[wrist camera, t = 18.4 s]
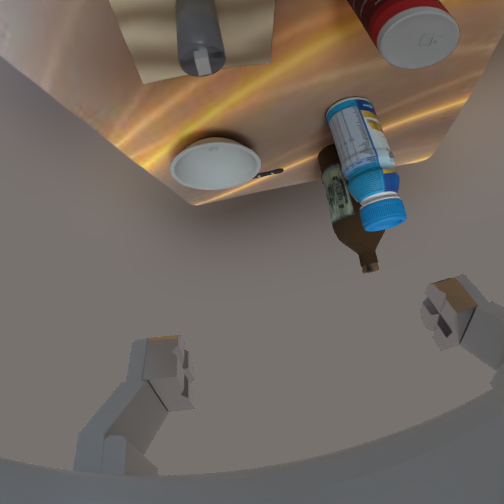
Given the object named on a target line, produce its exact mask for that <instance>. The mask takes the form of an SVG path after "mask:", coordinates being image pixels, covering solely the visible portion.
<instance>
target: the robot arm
mask: <svg viewBox="0 0 504 504" xmlns="http://www.w3.org/2000/svg"><path fill="white" fill-rule="evenodd" d="M425 293H426V295H427V298H426V299H425V300H424V301H423V303H422V307H421V318H422V320H423V323H424V324H425V326H426V328H427V329H429V330H431V331H433V339H434V340H435V342H436V343H437V345H438V347H439V348H440V349H441V351H442V350H445V349H448V348H450V347H453V346H456V345H459V344H460V346H461V347H463V348H464V349H465V350H467V351H468V352H470V353H471V354H473V355H474V356H476V357H477V358H479V359H480V360H481V361H483V362H484V363H486V364H488V365H489V366H490V367H492V368H493V369H494V370H496V373H495V374H494V376H493V377H492V378H491V381H490V384H491V386H492V387H493V389H491V390H489V391H487V392H485V393H483V394H482V395H480V396H478V397H476V398H474V399H472V400H470V401H468V402H466V403H464V404H462V405H460V406H458V407H456V408H454V409H451V410H449V411H447V412H445V413H443V414H440V415H438V416H436V417H433V418H431V419H429V420H427V421H424V422H422V423H420V424H417V425H414V426H412V427H409V428H406V429H404V430H401V431H398V432H396V433H393V434H390V435H387V436H384V437H381V438H378V439H375V440H372V441H369V442H366V443H363V444H360V445H356V446H353V447H349V448H346V449H342V450H338V451H335V452H331V453H327V454H323V455H319V456H315V457H310V458H306V459H301V460H296V461H291V462H287V463H281V464H275V465H270V466H264V467H257V468H250V469H244V470H235V471H225V472H216V473H203V474H186V475H158V468H157V467H156V466H155V465H154V464H153V463H152V462H151V461H149V460H148V459H147V458H146V457H145V456H144V454H145V452H146V450H147V449H148V447H149V445H150V444H151V442H152V440H153V439H154V437H155V435H156V434H157V432H158V430H159V429H160V427H161V425H162V424H163V422H164V420H165V419H166V417H167V415H168V412H171V411H180V410H188V409H194V391H193V388H192V386H191V382H192V381H193V380H194V376H193V366H192V361H191V357H190V354H189V352H188V351H187V350H185V349H184V345H185V342H184V340H183V338H182V336H181V335H173V336H162V337H152V338H145V339H135V340H134V341H133V342H132V345H131V351H130V357H129V363H128V369H127V376H126V382H121V383H120V384H119V386H118V387H117V388H116V389H115V390H114V391H113V393H112V394H111V395H110V396H109V397H108V399H107V400H106V401H105V402H104V403H103V405H102V406H101V407H100V408H99V409H98V410H97V412H96V413H95V414H94V415H93V416H92V418H91V419H90V420H89V421H88V422H87V423H86V425H85V426H84V427H83V428H82V429H81V431H80V432H79V433H78V439H77V444H76V451H75V458H74V465H73V470H66V469H59V468H52V467H46V466H41V465H35V464H30V463H25V462H20V461H16V460H12V459H7V458H3V457H0V504H504V307H503V306H501V305H499V304H497V303H495V302H493V301H491V302H489V301H488V300H487V299H486V298H485V297H484V295H483V294H482V293H481V292H480V291H479V290H478V288H477V287H476V286H475V285H474V284H473V283H472V282H471V280H470V279H469V278H468V277H467V276H466V275H463V274H461V275H458V276H455V277H452V278H448V279H444V280H441V281H437V282H434V283H430V284H429V285H428V286H427V288H426V292H425Z"/></svg>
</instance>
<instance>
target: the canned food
mask: <svg viewBox="0 0 504 504" xmlns="http://www.w3.org/2000/svg"><path fill="white" fill-rule="evenodd" d="M347 1H348V3H349V4H350V6H351V7H352V9H353V10H354V12H355V13H356V15H357V16H358V18H359V20H360V21H361V23H362V24H363V26H364V28H365V29H366V31H367V33H368V34H369V36H370V38H371V39H372V41H373V43H374V44H375V46H376V47H377V49H378V51H379V52H380V54H381V55H382V56H383V58H384V59H385V60H386V61H387V62H388V63H389V64H391V65H393V66H396V67H398V68H404V69H417V68H423V67H427V66H430V65H433V64H435V63H437V62H439V61H441V60H443V59H444V58H446V57H447V56H448V55H449V54H451V53H452V51H453V50H454V49H455V48H456V46H457V44H458V42H459V38H460V31H459V27H458V25H457V24H456V22H455V20H454V19H453V17H452V16H451V15H450V13H449V12H448V11H447V9H446V8H445V7H444V6H443V5H442V4H441V2H440V1H439V0H347Z"/></svg>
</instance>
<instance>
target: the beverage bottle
mask: <svg viewBox="0 0 504 504" xmlns="http://www.w3.org/2000/svg"><path fill="white" fill-rule="evenodd" d="M326 119H327V122H328V125H329V127H330V129H331V133H332V136H333V139H334V142H335V145H336V149H337V152H338V155H339V159H340V162H341V165H342V173H343V175H344V177H345V178H346V179H347V180H348V190H349V192H350V193H351V195H352V196H353V197H354V199H355V200H356V201H357V202H358V203H360V204H361V205H362V207H361V208H360V216H361V220H362V224H363V227H364V230H365V231H380V230H384V229H388V228H391V227H394V226H397V225H399V224H401V223H403V222H405V220H406V218H407V217H406V212H405V208H404V205H403V202H402V200H401V198H400V197H397V193H398V189H399V173H398V171H397V170H395V168H394V166H395V159H394V156H393V154H392V152H391V151H390V148H389V145H388V143H387V140H386V137H385V135H384V132H383V130H382V127H381V125H380V123H379V120H378V118H377V115H376V113H375V110H374V107H373V105H372V103H371V102H370V101H369V100H367V99H365V98H361V97H351V98H346V99H343V100H340V101H338V102H336V103H335V104H333V105H332V106H331V107H330V108H329V110H328V111H327V114H326Z"/></svg>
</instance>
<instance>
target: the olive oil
mask: <svg viewBox="0 0 504 504" xmlns="http://www.w3.org/2000/svg"><path fill="white" fill-rule="evenodd" d="M318 159H319V163H320V167H321V171H322V175H321V177H322V182H323V184H324V185H325V189H326V194H327V199H328V204H329V209H330V214H331V219H332V225H333V229H334V232H335V234H336V235H337V237H338V239H339V240H340V241H341V242H342V243H344V244H345V245H346V246H348V247H349V248H351V249H352V250H354V251H355V252H356V253H357V254H358V255H359V258H360V263H361V266H362V268H363V273H369V272H373V271H377V270H379V267H378V264H377V263H378V260H377V256H376V252H375V250H376V247H377V245H378V243H379V241H380V239H381V238H382V236H383V234H384V231H385V229H384V230H380V231H365V230H364V227H363V224H362V220H361V216H360V208H361V207H362V205H361V204H360V203H358V202H357V201H356V200H355V199H354V197H353V196H352V195H351V193H350V192H349V190H348V180H347V179H346V178H345V177H344V175H343V173H342V165H341V162H340V159H339V155H338V152H337V149H336V145H335V144H333V145H330V146H328V147H326V148H325V149H323V150H322V151H321V152H320V154H319V156H318Z"/></svg>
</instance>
